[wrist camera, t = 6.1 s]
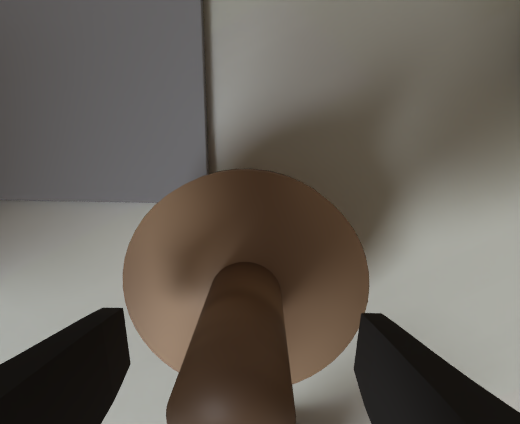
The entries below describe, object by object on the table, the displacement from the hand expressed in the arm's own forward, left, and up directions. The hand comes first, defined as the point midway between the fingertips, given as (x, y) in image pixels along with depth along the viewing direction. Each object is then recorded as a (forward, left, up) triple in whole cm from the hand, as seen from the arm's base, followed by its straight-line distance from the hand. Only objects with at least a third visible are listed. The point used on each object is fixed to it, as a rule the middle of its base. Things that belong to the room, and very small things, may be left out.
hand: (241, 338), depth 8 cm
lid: (0, 0, -3) cm, 3 cm away
